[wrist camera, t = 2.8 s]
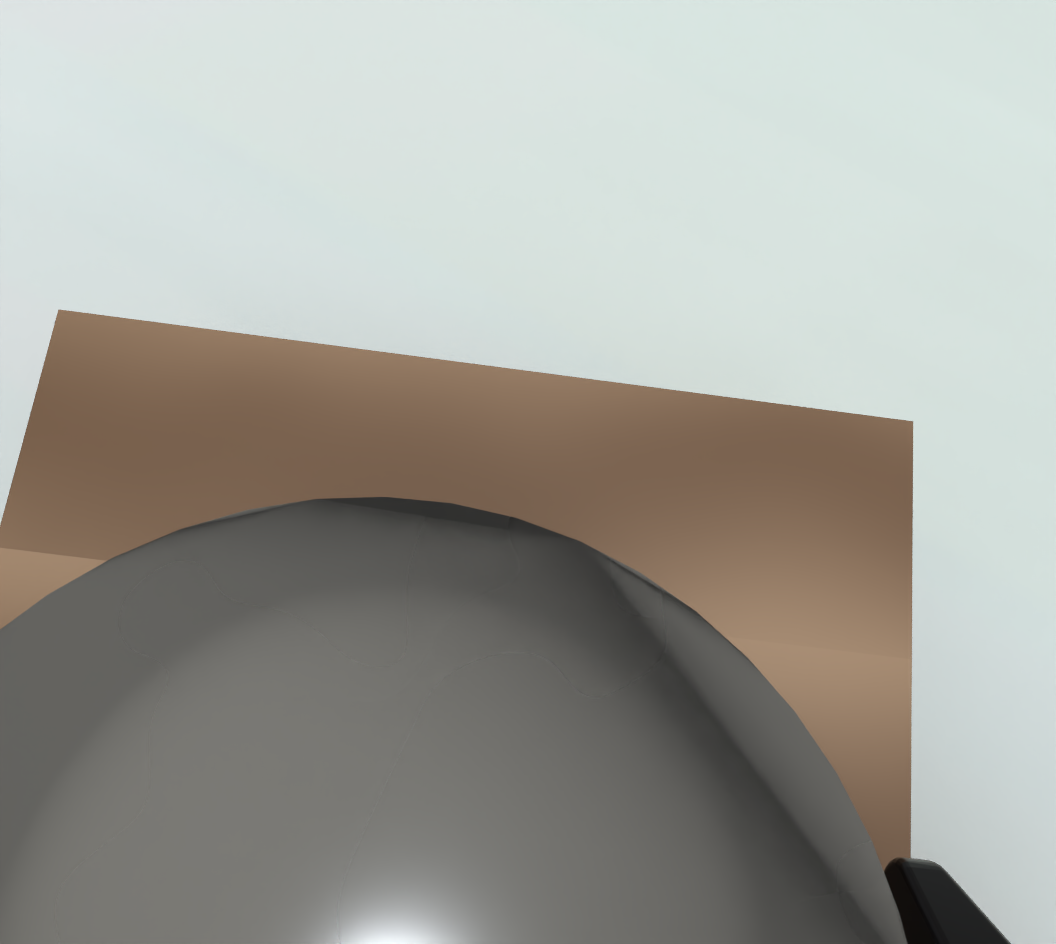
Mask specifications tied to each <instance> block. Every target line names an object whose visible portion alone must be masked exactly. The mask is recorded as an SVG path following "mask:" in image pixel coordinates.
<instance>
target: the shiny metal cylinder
mask: <svg viewBox="0 0 1056 944" xmlns="http://www.w3.org/2000/svg"><path fill="white" fill-rule="evenodd" d="M0 944H907V940H906V936H905V932H904V928H903V924H902V920H901V916H900V913H899V911H898V908H897V905H896V903H895V900H894V898H893V895H892V892H891V890H890V887H889V884H888V882H887V879H886V876H885V874H884V871H883V869H882V866H881V863H880V861H879V858H878V855H877V853H876V850H875V848H874V845H873V842H872V840H871V838H870V836H869V834H868V832H867V830H866V828H865V827H864V825H863V823H862V821H861V819H860V817H859V815H858V813H857V811H856V809H855V807H854V805H853V803H852V801H851V800H850V798H849V796H848V794H847V792H846V790H845V788H844V786H843V784H842V782H841V780H840V778H839V776H838V774H837V773H836V771H835V770H834V768H833V767H832V765H831V764H830V762H829V761H828V759H827V758H826V757H825V755H824V754H823V752H822V751H821V749H820V748H819V746H818V745H817V743H816V742H815V740H814V739H813V737H812V736H811V734H810V733H809V731H808V730H807V729H806V727H805V726H804V724H803V723H802V721H801V720H800V718H799V717H798V715H797V714H796V712H795V711H794V710H793V709H792V708H791V707H790V705H789V704H788V703H787V702H786V701H785V700H784V699H783V697H782V696H781V695H780V694H779V693H778V692H777V691H776V689H775V688H774V687H773V686H772V685H771V684H770V682H769V681H768V680H767V679H766V678H765V677H764V676H763V674H762V673H761V672H760V671H759V670H758V669H757V668H756V666H755V665H754V664H753V663H752V662H751V661H750V660H749V658H748V657H746V656H745V655H744V654H743V653H742V652H741V651H740V650H739V649H738V648H736V647H735V646H734V645H733V644H732V643H731V642H730V641H729V640H728V639H726V638H725V637H724V636H723V635H722V634H721V633H720V632H719V631H718V630H716V629H715V628H714V627H713V626H712V625H711V624H710V623H709V622H707V621H706V620H705V619H704V618H703V617H702V616H701V615H700V614H699V613H697V612H696V611H695V610H693V609H692V608H691V607H689V606H688V605H686V604H685V603H683V602H682V601H681V600H679V599H678V598H676V597H675V596H673V595H672V594H670V593H669V592H668V591H666V590H665V589H663V588H662V587H660V586H659V585H657V584H656V583H655V582H653V581H652V580H650V579H649V578H647V577H646V576H644V575H643V574H642V573H640V572H638V571H636V570H634V569H633V568H631V567H629V566H627V565H625V564H623V563H621V562H619V561H617V560H615V559H613V558H611V557H609V556H608V555H606V554H604V553H602V552H600V551H598V550H596V549H594V548H592V547H590V546H588V545H586V544H585V543H583V542H581V541H578V540H576V539H573V538H570V537H567V536H565V535H562V534H559V533H556V532H554V531H551V530H548V529H546V528H543V527H540V526H537V525H535V524H532V523H529V522H526V521H524V520H521V519H518V518H515V517H510V516H506V515H502V514H497V513H493V512H488V511H484V510H480V509H475V508H471V507H466V506H462V505H458V504H453V503H445V502H434V501H424V500H413V499H403V498H393V497H360V498H328V499H313V500H306V501H300V502H294V503H287V504H281V505H275V506H268V507H262V508H256V509H249V510H245V511H242V512H238V513H235V514H231V515H228V516H224V517H221V518H217V519H214V520H210V521H207V522H203V523H200V524H196V525H193V526H189V527H186V528H183V529H179V530H177V531H175V532H172V533H170V534H167V535H165V536H163V537H160V538H158V539H156V540H153V541H151V542H149V543H146V544H144V545H141V546H139V547H137V548H134V549H132V550H130V551H127V552H125V553H123V554H120V555H118V556H115V557H113V558H111V559H109V560H108V561H106V562H104V563H102V564H101V565H99V566H97V567H95V568H94V569H92V570H90V571H88V572H87V573H85V574H83V575H81V576H80V577H78V578H76V579H74V580H73V581H71V582H69V583H67V584H66V585H64V586H62V587H60V588H59V589H57V590H55V591H53V592H52V593H50V594H48V595H46V596H45V597H44V598H42V599H41V600H40V601H38V602H37V603H36V604H34V605H33V606H32V607H30V608H29V609H27V610H26V611H25V612H23V613H22V614H21V615H19V616H18V617H17V618H15V619H14V620H12V621H11V622H10V623H8V624H7V625H6V626H4V627H3V628H2V629H0Z"/></svg>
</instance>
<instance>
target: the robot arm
mask: <svg viewBox="0 0 1056 944" xmlns="http://www.w3.org/2000/svg"><path fill="white" fill-rule="evenodd" d="M884 874H885V876H886V879H887V882H888V884H889V887H890V890H891V892H892V895H893V898H894V900H895V903H896V905H897V908H898V911H899V913H900V916H901V920H902V924H903V928H904V932H905V936H906V940H907V944H1011V943H1010V942H1009V941H1008V940H1007V939H1006V938H1005V937H1004V935H1003V934H1002V933H1001V932H1000V931H999V930H998V929H997V928H996V926H995V925H994V924H993V923H992V922H991V921H990V920H989V919H988V917H987V916H986V915H985V914H984V913H983V912H982V911H981V910H980V908H979V907H978V906H977V905H976V904H975V903H974V902H973V901H972V899H971V898H970V897H969V896H968V895H967V894H966V893H965V892H964V890H963V889H962V888H961V887H960V886H959V885H958V884H957V883H956V881H955V880H954V879H953V878H952V877H951V876H950V875H949V874H948V872H947V871H946V870H945V869H944V868H942V867H941V866H940V865H938V864H937V863H935V862H932V861H929V860H921V859H912V858H904V857H896V858H894V859H893V860H891V861H890V862H889V863H888V865H887V866H886V868H885V870H884Z"/></svg>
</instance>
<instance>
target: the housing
mask: <svg viewBox="0 0 1056 944" xmlns="http://www.w3.org/2000/svg"><path fill="white" fill-rule="evenodd" d="M360 497H393V498H403V499H413V500H424V501H434V502H445V503H453V504H458V505H462V506H466V507H471V508H475V509H480V510H484V511H488V512H493V513H497V514H502V515H506V516H510V517H515V518H518V519H521V520H524V521H526V522H529V523H532V524H535V525H537V526H540V527H543V528H546V529H548V530H551V531H554V532H556V533H559V534H562V535H565V536H567V537H570V538H573V539H576V540H578V541H581V542H583V543H585V544H586V545H588V546H590V547H592V548H594V549H596V550H598V551H600V552H602V553H604V554H606V555H608V556H609V557H611V558H613V559H615V560H617V561H619V562H621V563H623V564H625V565H627V566H629V567H631V568H633V569H634V570H636V571H638V572H640V573H642V574H643V575H644V576H646V577H647V578H649V579H650V580H652V581H653V582H655V583H656V584H657V585H659V586H660V587H662V588H663V589H665V590H666V591H668V592H669V593H670V594H672V595H673V596H675V597H676V598H678V599H679V600H681V601H682V602H683V603H685V604H686V605H688V606H689V607H691V608H692V609H693V610H695V611H696V612H697V613H699V614H700V615H701V616H702V617H703V618H704V619H705V620H706V621H707V622H709V623H710V624H711V625H712V626H713V627H714V628H715V629H716V630H718V631H719V632H720V633H721V634H722V635H723V636H724V637H725V638H726V639H728V640H729V641H730V642H731V643H732V644H733V645H734V646H735V647H736V648H738V649H739V650H740V651H741V652H742V653H743V654H744V655H745V656H746V657H748V658H749V660H750V661H751V662H752V663H753V664H754V665H755V666H756V668H757V669H758V670H759V671H760V672H761V673H762V674H763V676H764V677H765V678H766V679H767V680H768V681H769V682H770V684H771V685H772V686H773V687H774V688H775V689H776V691H777V692H778V693H779V694H780V695H781V696H782V697H783V699H784V700H785V701H786V702H787V703H788V704H789V705H790V707H791V708H792V709H793V710H794V711H795V712H796V714H797V715H798V717H799V718H800V720H801V721H802V723H803V724H804V726H805V727H806V729H807V730H808V731H809V733H810V734H811V736H812V737H813V739H814V740H815V742H816V743H817V745H818V746H819V748H820V749H821V751H822V752H823V754H824V755H825V757H826V758H827V759H828V761H829V762H830V764H831V765H832V767H833V768H834V770H835V771H836V773H837V774H838V776H839V778H840V780H841V782H842V784H843V786H844V788H845V790H846V792H847V794H848V796H849V798H850V800H851V801H852V803H853V805H854V807H855V809H856V811H857V813H858V815H859V817H860V819H861V821H862V823H863V825H864V827H865V828H866V830H867V832H868V834H869V836H870V838H871V840H872V842H873V845H874V848H875V850H876V853H877V855H878V858H879V861H880V863H881V866H882V869H883V871H884V870H885V868H886V866H887V865H888V863H889V862H890V861H891V860H893V859H894V858H896V857H904V858H910V851H911V683H912V514H913V421H906V420H898V419H890V418H883V417H875V416H867V415H860V414H852V413H844V412H837V411H829V410H822V409H814V408H806V407H799V406H791V405H783V404H776V403H768V402H760V401H753V400H745V399H738V398H730V397H722V396H715V395H707V394H699V393H692V392H684V391H676V390H669V389H661V388H654V387H646V386H638V385H631V384H623V383H615V382H608V381H600V380H592V379H585V378H577V377H570V376H562V375H554V374H547V373H539V372H531V371H524V370H516V369H509V368H501V367H493V366H486V365H478V364H470V363H463V362H455V361H447V360H440V359H432V358H425V357H417V356H409V355H402V354H394V353H386V352H379V351H371V350H363V349H356V348H348V347H341V346H333V345H325V344H318V343H310V342H302V341H295V340H287V339H279V338H272V337H264V336H257V335H249V334H241V333H234V332H226V331H218V330H211V329H203V328H195V327H188V326H180V325H173V324H165V323H157V322H150V321H142V320H134V319H127V318H119V317H112V316H104V315H96V314H89V313H81V312H73V311H66V310H58V314H57V317H56V321H55V325H54V329H53V332H52V336H51V340H50V343H49V347H48V351H47V354H46V358H45V362H44V366H43V369H42V373H41V377H40V380H39V384H38V388H37V392H36V395H35V399H34V403H33V406H32V410H31V414H30V418H29V421H28V425H27V429H26V432H25V436H24V440H23V443H22V447H21V451H20V455H19V458H18V462H17V466H16V469H15V473H14V477H13V481H12V484H11V488H10V492H9V495H8V499H7V503H6V506H5V510H4V514H3V518H2V521H1V525H0V629H2V628H3V627H4V626H6V625H7V624H8V623H10V622H11V621H12V620H14V619H15V618H17V617H18V616H19V615H21V614H22V613H23V612H25V611H26V610H27V609H29V608H30V607H32V606H33V605H34V604H36V603H37V602H38V601H40V600H41V599H42V598H44V597H45V596H46V595H48V594H50V593H52V592H53V591H55V590H57V589H59V588H60V587H62V586H64V585H66V584H67V583H69V582H71V581H73V580H74V579H76V578H78V577H80V576H81V575H83V574H85V573H87V572H88V571H90V570H92V569H94V568H95V567H97V566H99V565H101V564H102V563H104V562H106V561H108V560H109V559H111V558H113V557H115V556H118V555H120V554H123V553H125V552H127V551H130V550H132V549H134V548H137V547H139V546H141V545H144V544H146V543H149V542H151V541H153V540H156V539H158V538H160V537H163V536H165V535H167V534H170V533H172V532H175V531H177V530H179V529H183V528H186V527H189V526H193V525H196V524H200V523H203V522H207V521H210V520H214V519H217V518H221V517H224V516H228V515H231V514H235V513H238V512H242V511H245V510H249V509H256V508H262V507H268V506H275V505H281V504H287V503H294V502H300V501H306V500H313V499H328V498H360Z"/></svg>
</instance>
